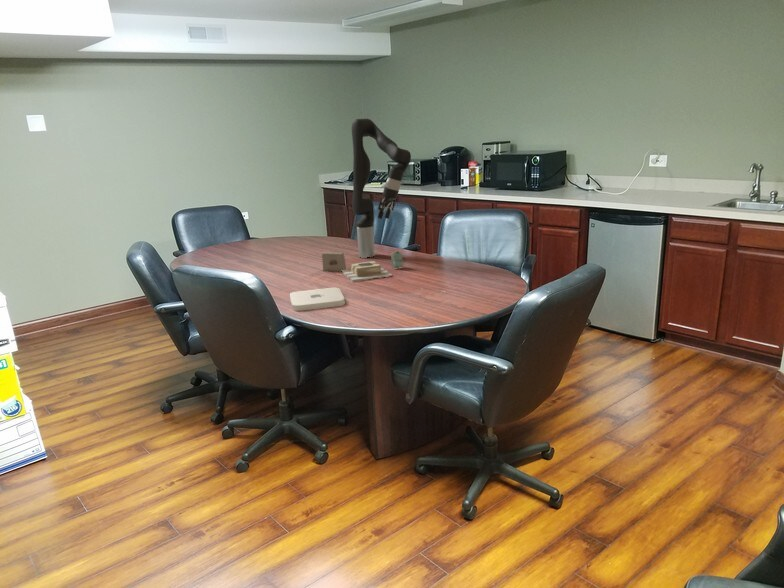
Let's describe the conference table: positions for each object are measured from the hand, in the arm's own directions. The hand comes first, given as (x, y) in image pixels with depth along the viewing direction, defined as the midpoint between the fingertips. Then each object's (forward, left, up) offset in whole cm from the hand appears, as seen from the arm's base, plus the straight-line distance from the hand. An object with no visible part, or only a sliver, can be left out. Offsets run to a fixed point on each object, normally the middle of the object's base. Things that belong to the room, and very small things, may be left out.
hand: (383, 218), depth 299 cm
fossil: (-4, -27, -25) cm, 37 cm away
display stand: (+13, -15, -25) cm, 32 cm away
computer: (+47, -47, -26) cm, 71 cm away
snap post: (+9, +3, -25) cm, 27 cm away
